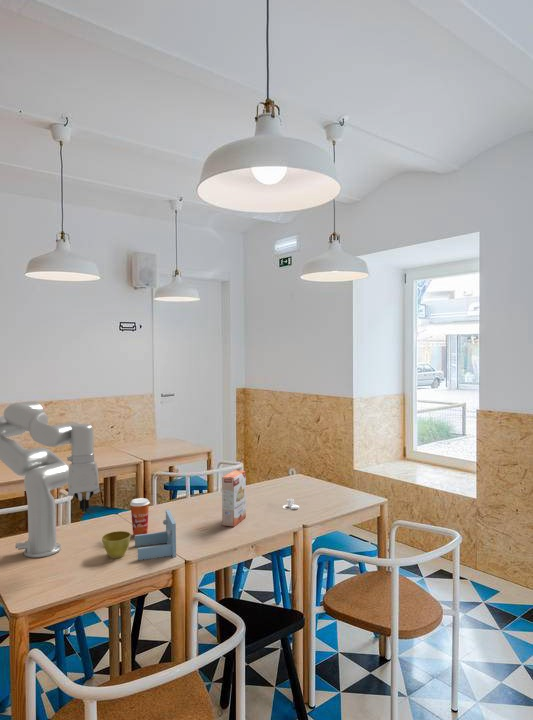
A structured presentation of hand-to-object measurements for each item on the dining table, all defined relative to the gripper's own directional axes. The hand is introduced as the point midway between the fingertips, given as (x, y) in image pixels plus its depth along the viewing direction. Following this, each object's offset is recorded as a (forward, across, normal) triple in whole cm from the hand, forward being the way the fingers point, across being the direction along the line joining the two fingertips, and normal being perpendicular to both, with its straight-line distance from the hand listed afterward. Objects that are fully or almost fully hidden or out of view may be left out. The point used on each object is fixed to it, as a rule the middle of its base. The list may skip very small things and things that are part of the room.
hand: (84, 510), depth 182 cm
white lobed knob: (+19, +88, +30) cm, 95 cm away
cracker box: (+18, +60, +21) cm, 67 cm away
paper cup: (+18, +20, +19) cm, 33 cm away
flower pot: (+18, +10, 0) cm, 21 cm away
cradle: (+18, +24, 0) cm, 30 cm away
